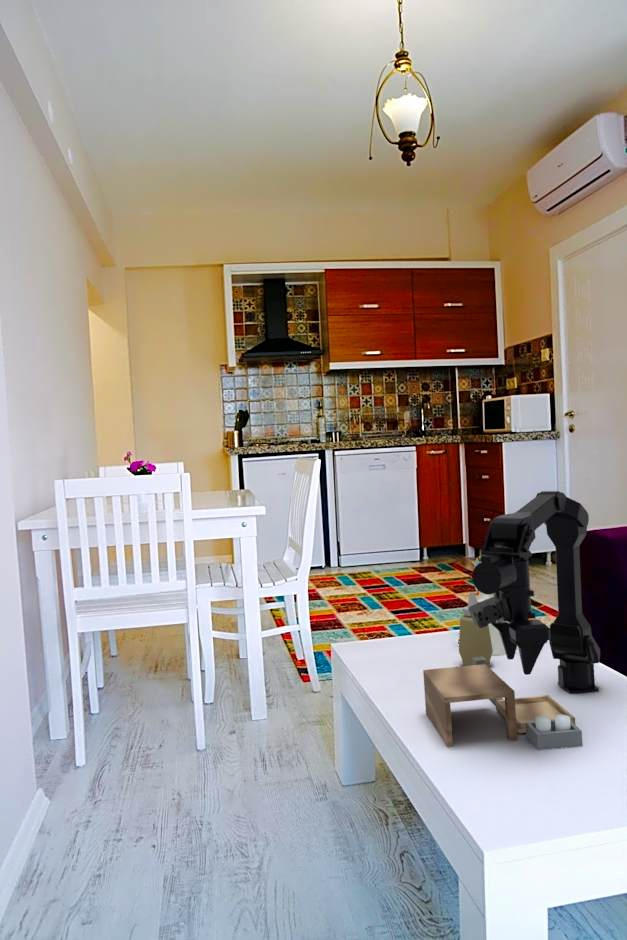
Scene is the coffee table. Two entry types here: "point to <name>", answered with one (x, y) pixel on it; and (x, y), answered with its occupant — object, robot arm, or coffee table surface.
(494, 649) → the spray bottle
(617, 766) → the coffee table surface
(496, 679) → the wooden stand
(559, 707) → the shallow wooden box
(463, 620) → the squeeze bottle
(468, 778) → the coffee table surface
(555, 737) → the tray
